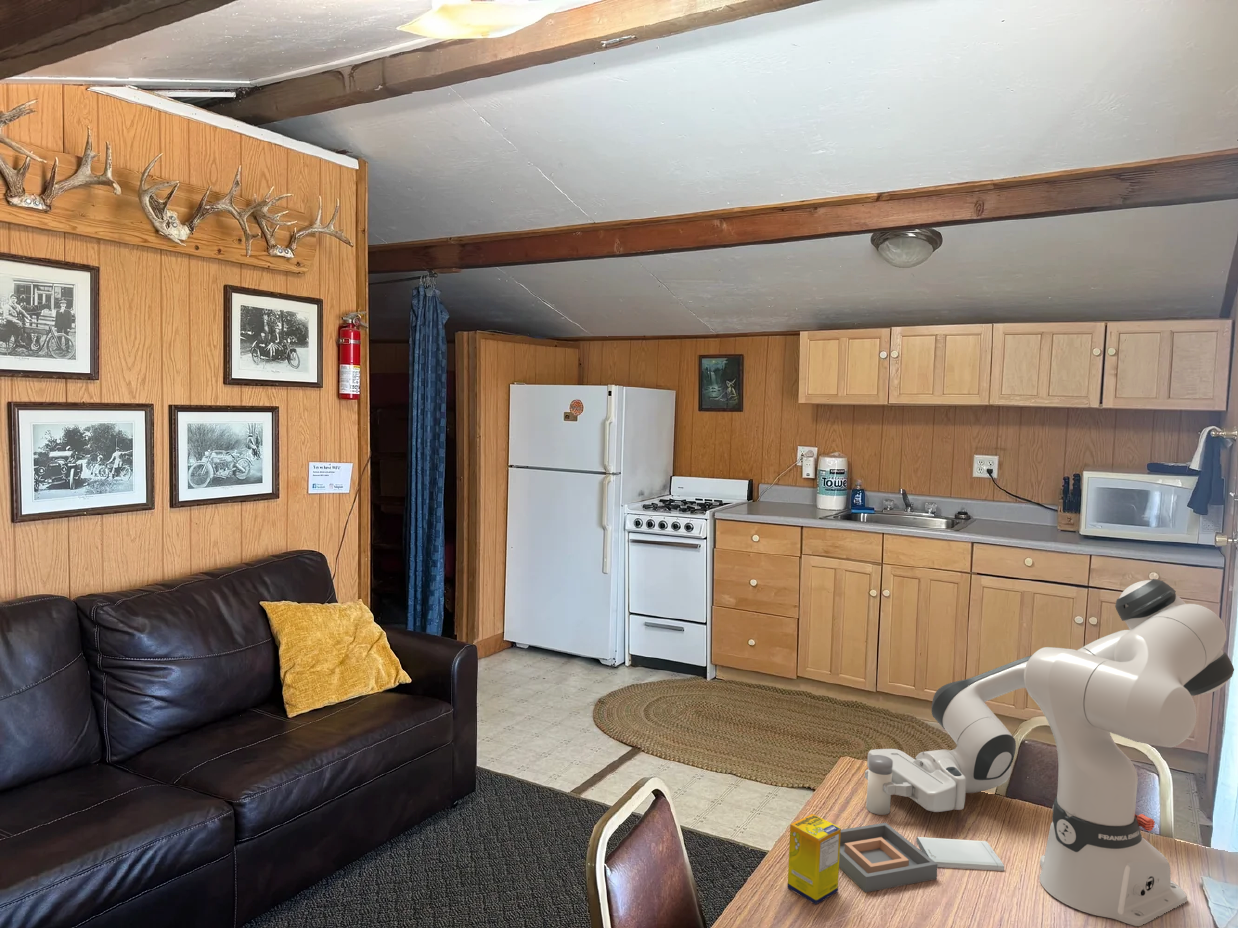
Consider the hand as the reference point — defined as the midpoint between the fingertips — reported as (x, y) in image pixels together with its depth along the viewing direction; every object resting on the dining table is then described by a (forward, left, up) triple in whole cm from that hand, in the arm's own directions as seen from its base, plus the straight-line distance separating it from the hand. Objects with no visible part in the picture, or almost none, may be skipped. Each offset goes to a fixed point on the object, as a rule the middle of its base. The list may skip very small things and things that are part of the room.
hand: (875, 782), depth 162 cm
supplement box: (+26, +20, -6) cm, 33 cm away
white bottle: (-1, 0, -6) cm, 6 cm away
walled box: (+11, +16, -6) cm, 20 cm away
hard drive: (-5, +18, -6) cm, 20 cm away
